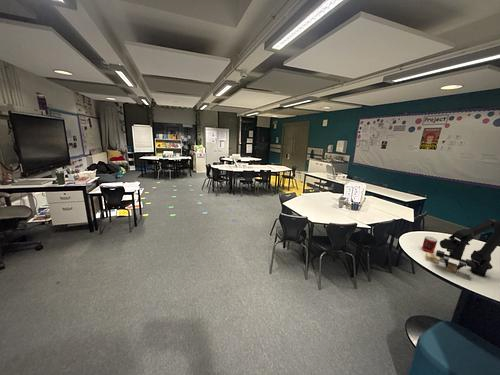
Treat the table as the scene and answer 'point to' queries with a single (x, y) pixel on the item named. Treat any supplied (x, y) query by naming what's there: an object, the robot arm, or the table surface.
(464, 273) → the card
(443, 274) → the table surface
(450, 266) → the walnut block
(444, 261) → the grey block
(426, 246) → the canned food
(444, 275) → the table surface
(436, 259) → the oak base
